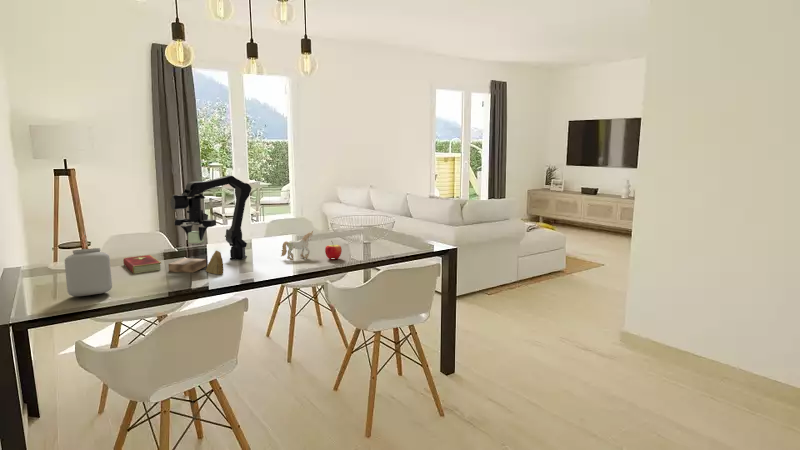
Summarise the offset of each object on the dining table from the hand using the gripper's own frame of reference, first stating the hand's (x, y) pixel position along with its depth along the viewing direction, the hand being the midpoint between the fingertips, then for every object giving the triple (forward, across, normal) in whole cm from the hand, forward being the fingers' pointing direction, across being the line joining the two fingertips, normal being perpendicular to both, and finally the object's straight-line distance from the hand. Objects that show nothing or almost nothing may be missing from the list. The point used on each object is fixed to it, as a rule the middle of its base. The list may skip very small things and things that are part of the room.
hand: (196, 240), depth 239 cm
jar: (+14, +15, +51) cm, 55 cm away
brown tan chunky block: (+13, -16, +12) cm, 23 cm away
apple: (+12, -62, -24) cm, 68 cm away
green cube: (+1, 0, 0) cm, 1 cm away
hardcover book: (+14, +23, +8) cm, 28 cm away
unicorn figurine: (+12, -43, -25) cm, 51 cm away
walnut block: (+13, 0, +7) cm, 15 cm away
